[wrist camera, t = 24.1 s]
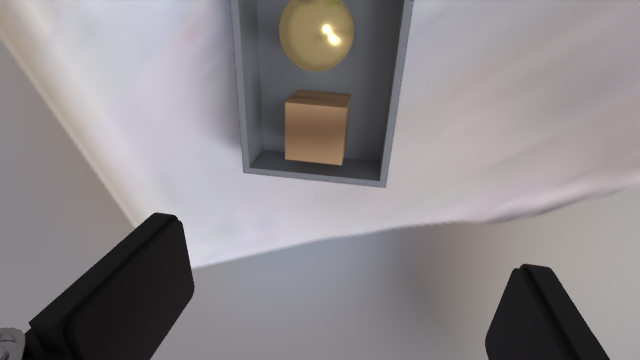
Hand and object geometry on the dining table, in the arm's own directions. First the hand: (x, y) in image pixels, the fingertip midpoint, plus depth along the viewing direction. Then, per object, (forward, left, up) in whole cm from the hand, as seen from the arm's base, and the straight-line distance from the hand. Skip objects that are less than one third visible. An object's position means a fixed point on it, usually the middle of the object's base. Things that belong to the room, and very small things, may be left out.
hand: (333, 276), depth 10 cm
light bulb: (+4, -5, -24) cm, 24 cm away
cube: (+4, +3, -24) cm, 24 cm away
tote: (+4, -1, -24) cm, 25 cm away
